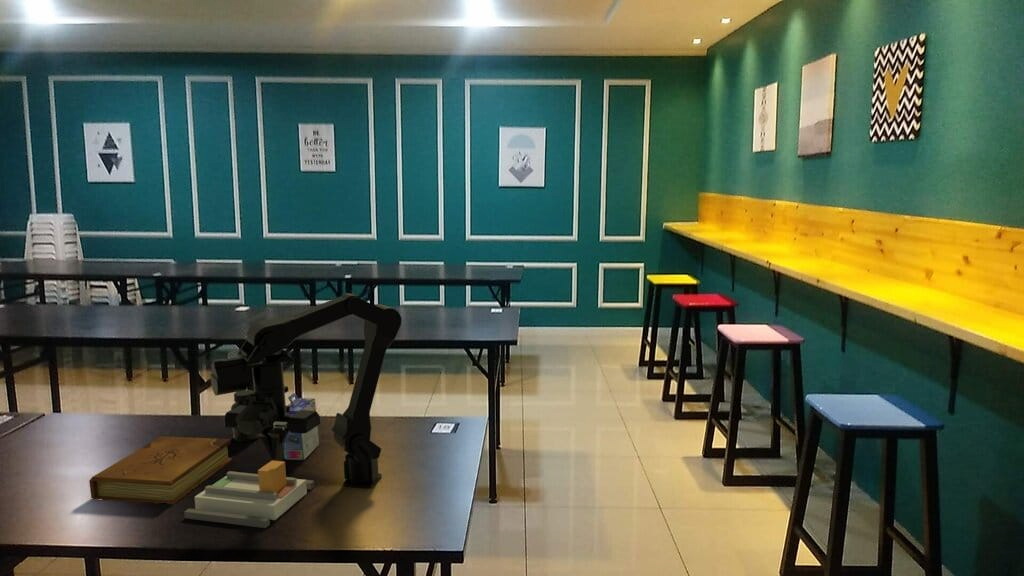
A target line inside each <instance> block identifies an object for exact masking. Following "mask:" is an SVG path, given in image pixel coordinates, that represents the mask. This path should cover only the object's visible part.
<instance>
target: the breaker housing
mask: <svg viewBox="0 0 1024 576" xmlns="http://www.w3.org/2000/svg"><path fill="white" fill-rule="evenodd" d="M306 480H307V479H303V480H302V479H299V478H296V477H291V476H290V477H288V476H286V483H287V485H285V486H284V487H283V488H282V489H280V490H279V491H278V492H276V493H275V492H266V491H259V477H258V473H251V472H249V473H248V472H240V471H239V472H238V471H230V470H229V471H227V472H226V476H223V477H222V478H221V479H219V480H218V481H216V482H215V483H214V484H211V485H206V486H205V487H204V490H203V491H201V492H200V493H198V494H197V495H195V496H194V505H195V508H194V509H199V510H207V511H216V512H224V513H233V514H241V515H250V516H258V517H267V518H269V519H270V520H271V521H276V520H278V519H279V517H280V516H283V514H284V513H285V512H287V511H288V510H289V509H290V508H291V507H293V506H294V505H295V504H296V503H297V502H298V501H300V500H301V499H302V498H303V497H304V496H306V495H307V494H308V492H307V491H308V489H307V487H306Z"/></svg>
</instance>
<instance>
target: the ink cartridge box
mask: <svg viewBox="0 0 1024 576" xmlns="http://www.w3.org/2000/svg"><path fill="white" fill-rule="evenodd" d="M293 399H294V400H293ZM288 401H289V402H290V403H288V404H286V406H290V411H288V412H287V413H286V414H289V415H294V414H295V413H297V412H299V411H300V410H309V411H316V412H317V406H316V399H315V398H311V397H310V398H305V397H304V398H303V397H298V395H297V394H296V393H295V392H293V393H292V394H291V395H289V396H288ZM319 445H320V441H319V429H318V426H316V427H315V428H313V429H312V430H310V431H309V432H307V433H303V434H302V433H291V432H290V431H289V432H288V434H287V436H286V439H285V441H284V444H283V447H282V449H283V457H284V460H293V461H304V460H306V458H308V457H309V455H310V454H312V452H313V451H314V450H316V448H317V447H318V446H319Z"/></svg>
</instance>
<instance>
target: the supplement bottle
mask: <svg viewBox="0 0 1024 576" xmlns="http://www.w3.org/2000/svg"><path fill="white" fill-rule="evenodd" d="M253 392H254V390H252V389H247V390H243V391H238V392H233V404H232V405H231V406H230V410H232V409H234V408H236V407H238V406H240V405H243V406H248V405H249V403H250V394H251V393H253ZM232 434H233V435H232V436H233V439H234V440H235V441H236V442H244V443H245V442H250V441H255V440H257V439H259V438H260V437H259V436H258V435H256V434H253V433H241V432H240V430H239V427H237V428H232Z"/></svg>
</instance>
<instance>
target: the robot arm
mask: <svg viewBox="0 0 1024 576" xmlns="http://www.w3.org/2000/svg"><path fill="white" fill-rule="evenodd" d="M350 315H351V316H352V315H353V316H355V317H357V318H359V319H361V320H363V321H364V322H363V334H364V335H363V336H364V348H363V352H362V355H361V359H360V362H359V367H358V371H357V372H356V373H357V374H356V378H355V380H354V385H353V389H352V392H351V396H350V400H349V404H348V407H347V408H346V409H345V411H344V412H343V413H339V412H337V413H336V414H335V422H334V425H333V427H332V428H331V431H332V432H333V439H334V441H335V443H336V444H337V445H338V446H340V447H341V448H342V449H343V451H344V452H346V453H347V454H345V456H344V458H345V460H344V461H343V474H344V475H343V476H344V477H343V478H344V479H345V480H344V481H343V483H342V485H343V486H345V487H356V488H365V489H370V488H371V487H372V486H374V485H375V484H376V483H377V482H378V481H379V479H381V478H382V473H379V458H380V455H381V452H382V448H381V446H379V445H377V444H376V443H374V441H372V440H371V436H372V423H371V415H370V414H371V409H372V406H373V401H374V398H375V393H376V391H377V385H378V382H379V378H380V375H381V372H382V371H381V370H382V368H383V364H384V361H385V357H386V353H387V350H388V348H389V347H390V346H391V344H392V343H394V340H395V339H396V338H397V335H398V333H399V331H400V328H401V326H402V322H403V319H402V316H401V314H400V313H399V311H398V310H397V309H396V308H393V307H391V306H387V305H383V304H381V303H379V304H378V303H377V304H373V303H371V302H368V301H365V300H364V299H362V298H361V297H359V296H358V295H355V294H353V293H349V292H348V293H347V292H346V293H343V294H341V295H339V296H338V297H336V298H333V299H330V300H328V301H326V302H322V303H320V304H317V305H315V306H313V307H310V308H307V309H305V310H303V311H300V312H298V313H295V314H293V315H290V316H285V317H277V318H270V319H265V320H260V321H257V322H255V323H252V324H251V325H250V326H249V328H248V329H247V330H248V331H247V332H246V340H245V341H244V343H243V344H242V346H241V347H240V349H239V351H237V354H236V356H235V357H234V356H233V357H228V358H216V359H215V358H214V359H212V361H211V364H212V366H211V372H210V383H211V384H210V385H211V388H212V391H213V393H214V395H215V396H222V395H227V394H231V393H233V394H234V393H236V392H238V391H243V390H248V388H250V387H251V385H252V383H253V391H254V392H253V393H251V394H250V403H249V405H248V406H243V405H240V406H238V407H236V408H234V409H232V410H231V409H230V410H229V411H226V412H225V415H224V416H223V425H224V428H232V429H233V428H237V427H239V430H240V432H241V433H253V434H256V435H258V436H259V438H260V439H261V441H262V443H263V444H264V447H265V448H266V450H267V453H268V454H269V456H270V459H271V461H277V460H278V459H279V458H280V455H281V451H282V449H283V444H284V441H285V439H286V436H287V434H288V432H289V431H290V432H291V433H302V434H303V433H307V432H309V431H310V430H312V429H313V428H315V427H316V426H317V427H318V426H319V425H320V424H321V416H320V413H318V412H317V410H316V411H309V410H300V411H299V412H297V413H295V414H294V415H289V414H286V413H287V412H288V411H290V406H287V404H286V393H288V392H289V386H286V385H285V379H284V368H283V366H284V365H283V363H287V362H291V361H293V360H294V357H292V356H291V355H289V354H288V353H287V351H286V350H285V348H286V347H288V346H290V345H291V344H292V343H293V342H294V341H295V340H296V339H297V338H299V337H300V336H302V335H305V334H308V333H309V332H312V331H314V330H316V329H320V328H322V327H324V326H326V325H329V324H331V323H335V322H337V321H340V320H341V319H344V318H347V317H348V316H350Z"/></svg>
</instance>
